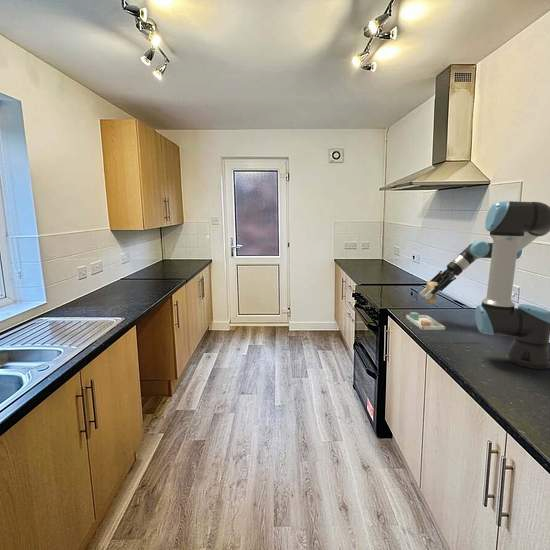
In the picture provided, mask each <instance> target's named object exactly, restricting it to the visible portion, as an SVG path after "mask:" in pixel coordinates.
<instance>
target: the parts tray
mask: <svg viewBox="0 0 550 550" xmlns="http://www.w3.org/2000/svg"><path fill="white" fill-rule="evenodd" d="M405 318H406V319H407V320H409V321H410V322H411V323H412V324H414V325H415V326H416V327H417V328H419V329H420V330H422V331H427V330H428V331H445V330H446V326H444V325H443V324H442V323H440V322H439V321H437V320H435V319H434V318H432V317H430V316H428V315H427V314H419V318H418V320H413V319H412V318H411V317H410V314H406V315H405ZM421 320H428V321H429V322H431V326H422V325H421Z"/></svg>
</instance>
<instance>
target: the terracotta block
mask: <svg viewBox="0 0 550 550" xmlns="http://www.w3.org/2000/svg"><path fill="white" fill-rule="evenodd" d="M421 325H422V326H431V322H429V321H428V320H421Z"/></svg>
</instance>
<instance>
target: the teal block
mask: <svg viewBox="0 0 550 550" xmlns="http://www.w3.org/2000/svg"><path fill="white" fill-rule="evenodd" d="M409 315H410V317H411V318H412V319H413V320H418V318H419V315H420V314H419V313H418V312H417V311H415V312H414V311H413V312H412V311H411V312H409Z"/></svg>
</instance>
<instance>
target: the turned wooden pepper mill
mask: <svg viewBox="0 0 550 550" xmlns="http://www.w3.org/2000/svg"><path fill="white" fill-rule="evenodd" d="M437 285H438V284H437V282H433V281H430V280H428V281H426V287H427V289H426V294H427V293H428V292H429V291H430V290H431V289H432V288H435V287H434V286H437ZM436 299H437V292H436V293H435V294H434V295H433V296H432V297H431V298H430V299H427V298H426V297H425V300H424V303H426V304H429V305H430V304H431V305H435V304H436Z"/></svg>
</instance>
